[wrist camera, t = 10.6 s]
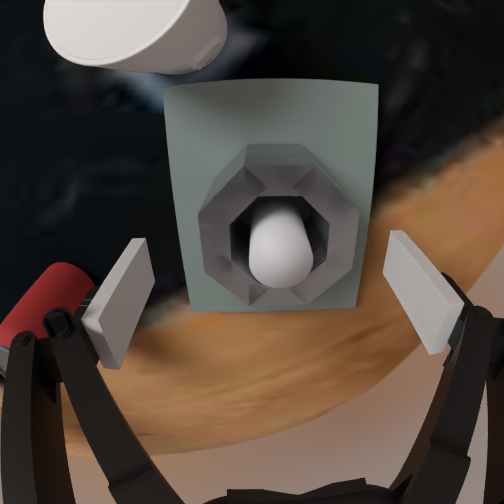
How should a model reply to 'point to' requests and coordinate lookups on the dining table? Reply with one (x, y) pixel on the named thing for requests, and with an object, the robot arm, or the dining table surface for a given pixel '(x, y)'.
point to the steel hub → (238, 233)
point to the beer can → (43, 304)
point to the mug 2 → (137, 33)
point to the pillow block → (270, 207)
